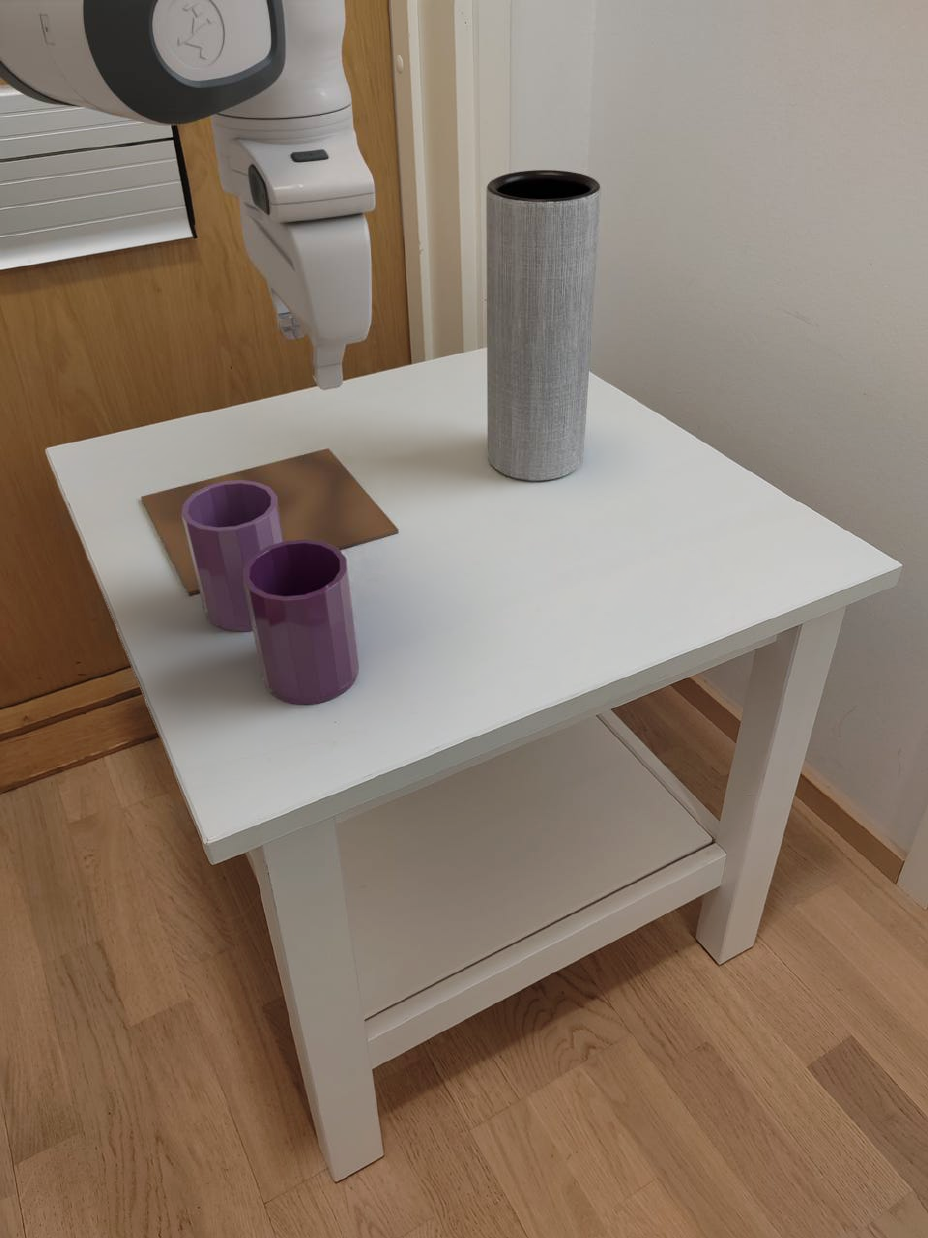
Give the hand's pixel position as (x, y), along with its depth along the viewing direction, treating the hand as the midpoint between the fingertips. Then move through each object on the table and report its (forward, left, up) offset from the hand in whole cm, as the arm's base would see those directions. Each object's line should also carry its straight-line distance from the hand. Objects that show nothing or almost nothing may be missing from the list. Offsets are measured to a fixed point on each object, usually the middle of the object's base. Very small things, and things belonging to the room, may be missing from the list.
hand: (309, 359), depth 70 cm
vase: (+12, +26, -21) cm, 36 cm away
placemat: (-11, +9, -21) cm, 25 cm away
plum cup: (+2, -11, -21) cm, 24 cm away
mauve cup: (-7, -4, -21) cm, 22 cm away
